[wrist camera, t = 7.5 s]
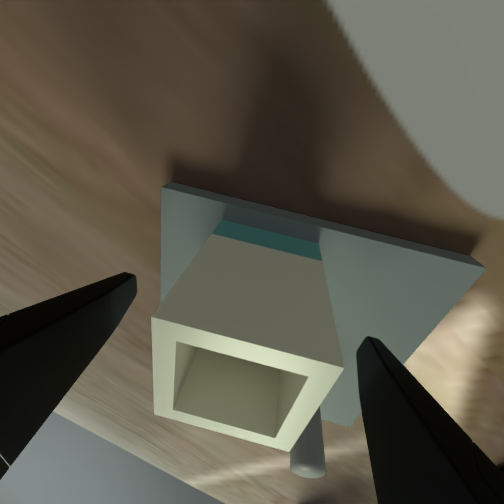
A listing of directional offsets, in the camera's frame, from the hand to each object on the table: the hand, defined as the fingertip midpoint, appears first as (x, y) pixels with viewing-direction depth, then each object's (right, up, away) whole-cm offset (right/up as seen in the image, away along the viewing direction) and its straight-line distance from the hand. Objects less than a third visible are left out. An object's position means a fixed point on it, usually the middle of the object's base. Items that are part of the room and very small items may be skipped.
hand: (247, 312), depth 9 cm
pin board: (+2, -2, +5) cm, 6 cm away
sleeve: (+1, +1, +2) cm, 3 cm away
